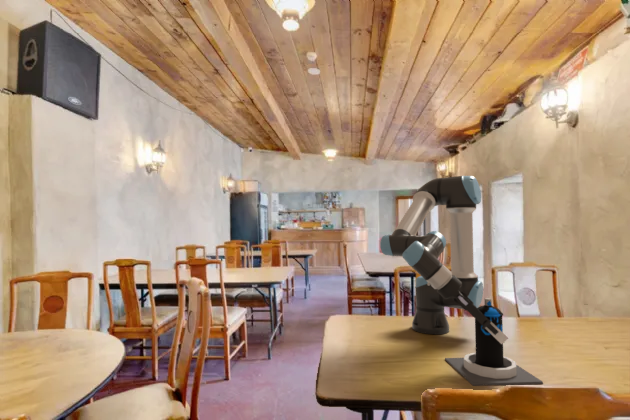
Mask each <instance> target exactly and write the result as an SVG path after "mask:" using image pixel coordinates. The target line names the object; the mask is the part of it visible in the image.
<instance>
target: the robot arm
mask: <svg viewBox="0 0 630 420" xmlns="http://www.w3.org/2000/svg"><path fill="white" fill-rule="evenodd" d="M481 202H482V193H481V187H480V184H479V182H478V180H477V178H476V177H475V176H473V175H460V176H459V175H458V176H450V177H448V176H447V177H437V178H433V179H431V180H429V181H428V182H426V183H424V184H423V185H422V186H420V188H418V189H417V191H415V193H414V194H413V196H412V202H411V204H410V206H409V207H408V208H407V210H406V212H405V213H404V215H403V216H402V218H401V220H400V222H399V223H398V225H397V226H396V228H395V229H394V231H393V232H392V233H391V234H386V235H385V234H384V235H383V236H382V237H381V239H380V241H379V242H380V243H379V247H380V250H381V253H382V255H385V256H391V257H402V258H403V259H404V260H405V262H406V263H407V264H408V266H410V267H411V268H412V269H413V270H414V271H416V273H417V274H419V276H417V277H416V279H415V314H414V316H413V321H412V323H411V325H412V326H411V327H412V328H411V329H412V330H413V331H415V332H417V333H421V334H425V335H444V334H447V333H449V332H450V325H449V324H450V323H449V322H448V319H447V315H446V311H445V308H453V309H459V310H460V309H461V310H464V311H467V312H468V313H469V314H470V315H471V316H472V317H474V320H475V319H476V320H477V321H478V322H479V323H480V324H481V325H482V326H483V327H482V329H484V328H485V329H486V330H487V331H488V332H489V333H490V334H491V335H492V336H493V337H495V338H496V339H497V340H498V341H499V342H500V343H501V344H503V345H504V344H505V343H504V342H507V340H508V339H509V337H508V336H507V335H506V333H504V332H502V331H501V330H500V329H498V328H497V327H496V326H495V325H494V324H493V323H492V322H491V321H490V320H489V319H487V318H486V317H485V316H484V315H483V314H482V313H481V312H480V311H479V310H478V309H477V308H478V307H480V306H481V304H482V300H483V295H484V283H483V282H482V281H481V280H479V276H478V275H477V274H476V272H475V271H474V270H475V269H474V232H473V230H474V228H473V225H474V224H473V221H474V219H473V213H474V211H476V210H477V205H480V203H481ZM436 206H445V210H446V211H448V212H449V223H450V224H449V225H450V232H449V233H450V268H451V269H449V268H448V267H446V266H445V265H444V264H443V263H442V262H441V261H440V259H439V257H440V256H441V254H442V253H443V252H444V249H445V248H446V245H447V240H446V237H445V236H444V235H443V234H442V233H441V232H439V231H437V230H433V231H432V230H431V231H429V232H428V233H426V234H425V235H417V234H418V231H419V230H420V229H421V226H422V225H423V223H424V221H425V219H426V217H427V215H428V214H429V212H430V211H432V210H433V209H434V208H435V207H436ZM485 320H486V321H485ZM484 321H485V322H484ZM483 322H484V323H483Z"/></svg>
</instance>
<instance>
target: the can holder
mask: <svg viewBox="0 0 630 420" xmlns="http://www.w3.org/2000/svg"><path fill="white" fill-rule="evenodd" d="M444 360H445V361H446V363H448V364H449V365H450V366H451V367H452V368H453V369H454V370H455V371H456V372H458V374H459V375H461V376H462V377H463V378H464V379H465V380H466V381H467V382H468V383H469V384H471V385H472V386H474V387H477V386H478V387H479V386H509V384H518V385H543V384H544V382H543V381H542V380H541V379H539V378H538V377H536V376H535V375H533V374H532V373H530V372H528V371H527V370H525V369H523V368H522V367H521V366H519V365H518V364H517V361H514V359H512V358H510V357H507V356H504V355H503V363H504V368H490V367H484V366H480V365H477V364H476V363H475V360H476V352H471V353H467V354H465V355H464V357H445V358H444Z"/></svg>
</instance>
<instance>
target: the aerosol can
mask: <svg viewBox="0 0 630 420" xmlns="http://www.w3.org/2000/svg"><path fill="white" fill-rule="evenodd" d="M477 309H478V310H479V311H480V312H481V313H482V314H483V315H484V316H485V317H486V318H487V319H489V320H490V321H491V322H492V323H493V324H494V325H495V326H496V327H497V328H498V329H500V330H501V331H502V332H503V331H504V329H503V327H504V326H503V315H504V313H503V312H502V311H501V310H500V309H499V308H497V307H495V306H493V304H492V298H489V297H486V298H484V304H483V305H480V306H479V307H478V308H477ZM485 321H486V320H485ZM485 321H484V322H485ZM484 322H483V323H484ZM482 327H483V326H482V325H481V324H480V323H479V322H478V321H477V320H476V319H475V318H474V328H475V329H474V330H475V331H474V332H475V334H474V335H475V339H474V340H475V353H476V360H475V363H476V364H477V365H480V366H484V367H490V368H504V363H503V356H504V343H503V344H501V343H500V342H499V341H498V340H497V339H496V338H495V337H493V336H492V335H491V334H490V333H489V332H488V331H487V330H486V329H485V328H484V329H482ZM503 333H504V332H503Z"/></svg>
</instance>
